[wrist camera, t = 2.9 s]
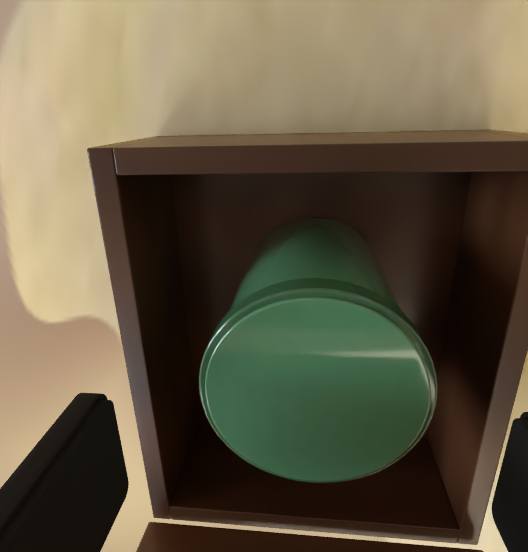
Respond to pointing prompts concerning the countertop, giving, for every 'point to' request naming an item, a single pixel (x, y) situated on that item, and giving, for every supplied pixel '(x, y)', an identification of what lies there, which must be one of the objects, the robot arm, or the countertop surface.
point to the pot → (317, 360)
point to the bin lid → (261, 541)
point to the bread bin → (398, 270)
